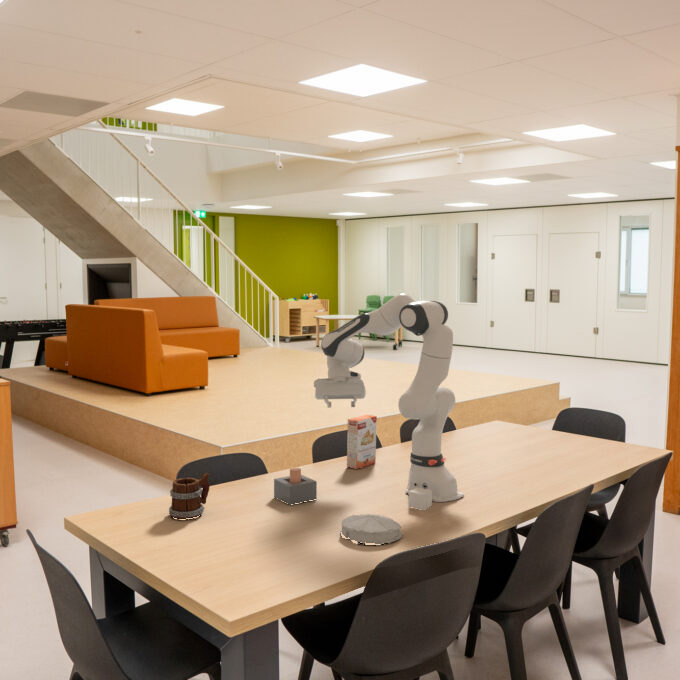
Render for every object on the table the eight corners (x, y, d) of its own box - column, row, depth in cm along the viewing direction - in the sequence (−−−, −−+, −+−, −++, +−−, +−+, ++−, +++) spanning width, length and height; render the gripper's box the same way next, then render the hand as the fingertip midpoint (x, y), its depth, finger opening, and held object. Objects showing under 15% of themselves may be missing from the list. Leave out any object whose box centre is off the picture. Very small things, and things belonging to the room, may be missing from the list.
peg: (302, 496, 258) (302, 469, 256) (293, 498, 255) (293, 471, 254) (297, 493, 261) (297, 467, 260) (287, 495, 259) (287, 468, 257)
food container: (326, 534, 225) (325, 513, 224) (372, 519, 238) (372, 500, 237) (368, 554, 210) (368, 532, 209) (415, 537, 223) (415, 516, 222)
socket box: (316, 500, 257) (316, 481, 256) (289, 505, 250) (289, 486, 250) (300, 492, 266) (300, 474, 265) (274, 497, 260) (274, 478, 259)
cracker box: (357, 470, 296) (358, 420, 294) (346, 467, 300) (346, 419, 298) (376, 463, 307) (377, 415, 305) (365, 460, 311) (365, 413, 309)
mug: (159, 514, 240) (165, 470, 240) (194, 512, 250) (200, 469, 250) (178, 523, 232) (184, 477, 232) (214, 520, 242) (219, 476, 242)
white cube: (416, 503, 254) (417, 487, 254) (431, 506, 251) (432, 490, 250) (408, 508, 249) (408, 491, 249) (423, 511, 246) (424, 494, 245)
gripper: (313, 374, 286) (315, 402, 277) (364, 373, 288) (367, 401, 279) (313, 383, 291) (314, 411, 282) (362, 382, 293) (365, 410, 284)
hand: (341, 406), depth 280 cm, fingers open, 8 cm apart
